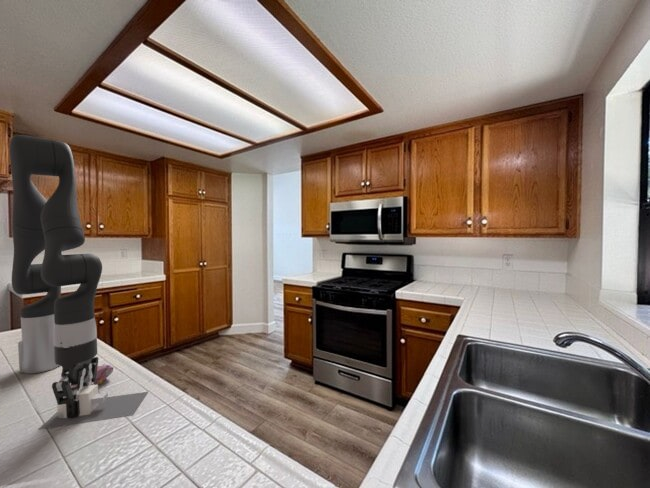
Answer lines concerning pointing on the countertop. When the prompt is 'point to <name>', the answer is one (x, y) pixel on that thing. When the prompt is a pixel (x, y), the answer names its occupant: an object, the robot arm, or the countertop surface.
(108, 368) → the video game controller
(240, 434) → the countertop surface
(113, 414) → the rubber mat
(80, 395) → the plug block
